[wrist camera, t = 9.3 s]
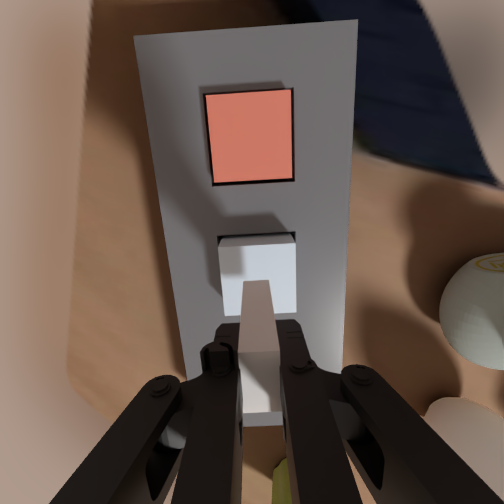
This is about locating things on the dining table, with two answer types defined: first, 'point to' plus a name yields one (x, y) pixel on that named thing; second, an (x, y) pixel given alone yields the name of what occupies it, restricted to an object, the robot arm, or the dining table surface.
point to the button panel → (254, 192)
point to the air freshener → (476, 311)
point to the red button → (250, 135)
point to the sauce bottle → (472, 436)
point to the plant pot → (281, 484)
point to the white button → (258, 269)
